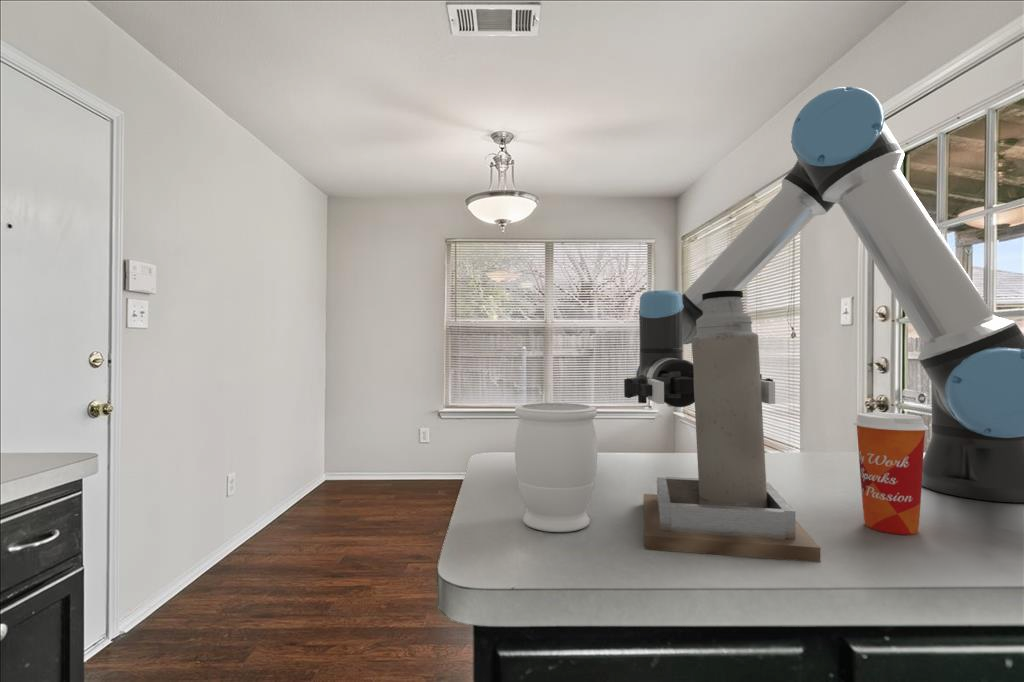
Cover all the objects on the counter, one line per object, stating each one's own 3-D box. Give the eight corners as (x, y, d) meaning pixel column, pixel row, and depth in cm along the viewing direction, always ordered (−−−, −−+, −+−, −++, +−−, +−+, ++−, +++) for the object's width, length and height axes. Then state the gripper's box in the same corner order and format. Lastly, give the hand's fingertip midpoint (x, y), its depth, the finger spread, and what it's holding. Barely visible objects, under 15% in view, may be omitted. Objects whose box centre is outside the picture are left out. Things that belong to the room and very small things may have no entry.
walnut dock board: (779, 512, 76) (779, 501, 76) (820, 562, 59) (820, 547, 59) (643, 504, 80) (643, 493, 80) (644, 548, 63) (644, 535, 63)
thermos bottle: (695, 504, 75) (685, 297, 76) (758, 504, 74) (746, 293, 75) (706, 521, 67) (694, 289, 69) (776, 521, 66) (763, 285, 67)
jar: (604, 515, 75) (603, 403, 75) (589, 540, 65) (588, 412, 66) (528, 508, 79) (528, 401, 79) (503, 531, 69) (503, 409, 69)
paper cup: (840, 522, 72) (839, 413, 72) (880, 515, 75) (879, 410, 75) (904, 542, 65) (902, 420, 65) (945, 533, 68) (943, 417, 68)
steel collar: (767, 504, 75) (767, 481, 75) (797, 540, 61) (796, 512, 61) (656, 497, 78) (656, 476, 78) (660, 531, 64) (660, 504, 64)
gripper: (752, 405, 90) (819, 423, 69) (597, 405, 91) (615, 422, 70) (752, 358, 90) (818, 362, 69) (596, 359, 91) (615, 363, 70)
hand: (716, 393), depth 70 cm, fingers open, 13 cm apart
